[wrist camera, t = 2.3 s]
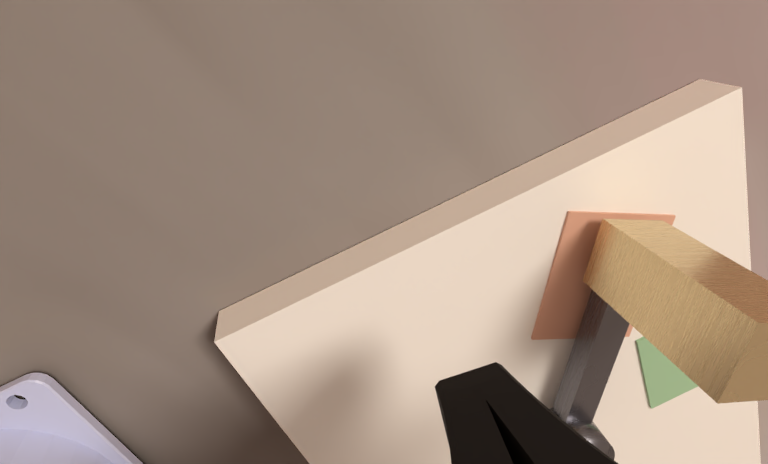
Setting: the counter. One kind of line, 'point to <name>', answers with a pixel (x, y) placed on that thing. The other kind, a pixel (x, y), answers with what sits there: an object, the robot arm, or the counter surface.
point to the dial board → (506, 299)
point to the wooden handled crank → (665, 318)
